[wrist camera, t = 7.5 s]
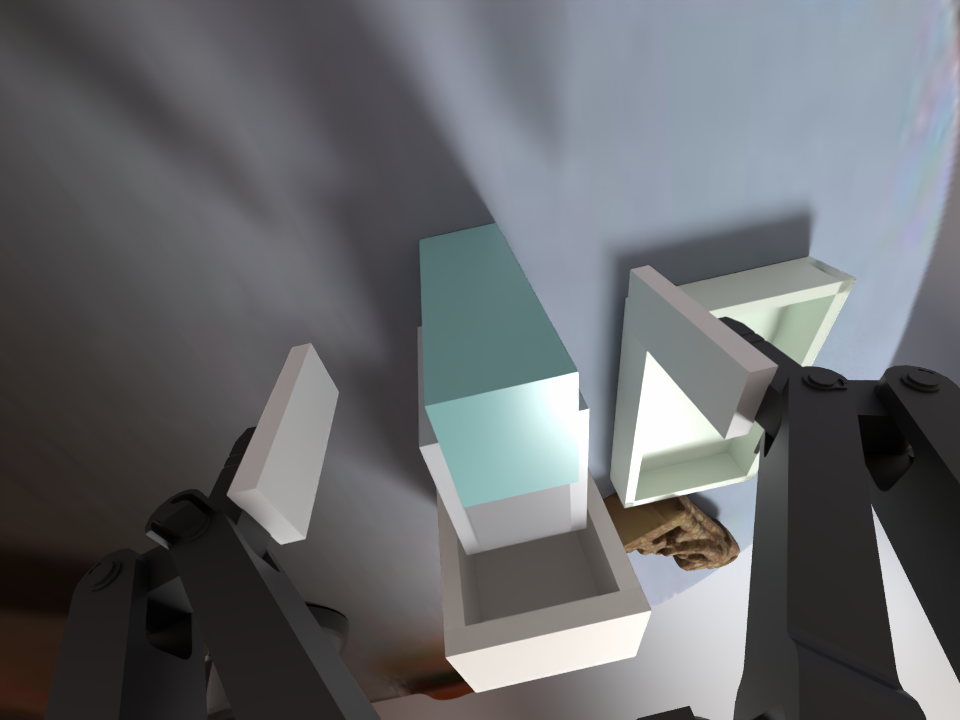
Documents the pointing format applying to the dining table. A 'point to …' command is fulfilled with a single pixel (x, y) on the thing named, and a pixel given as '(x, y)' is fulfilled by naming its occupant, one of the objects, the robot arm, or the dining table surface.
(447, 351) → the teal-capped white block
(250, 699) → the robot arm
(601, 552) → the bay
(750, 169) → the dining table surface
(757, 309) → the tray
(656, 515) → the sculpture
